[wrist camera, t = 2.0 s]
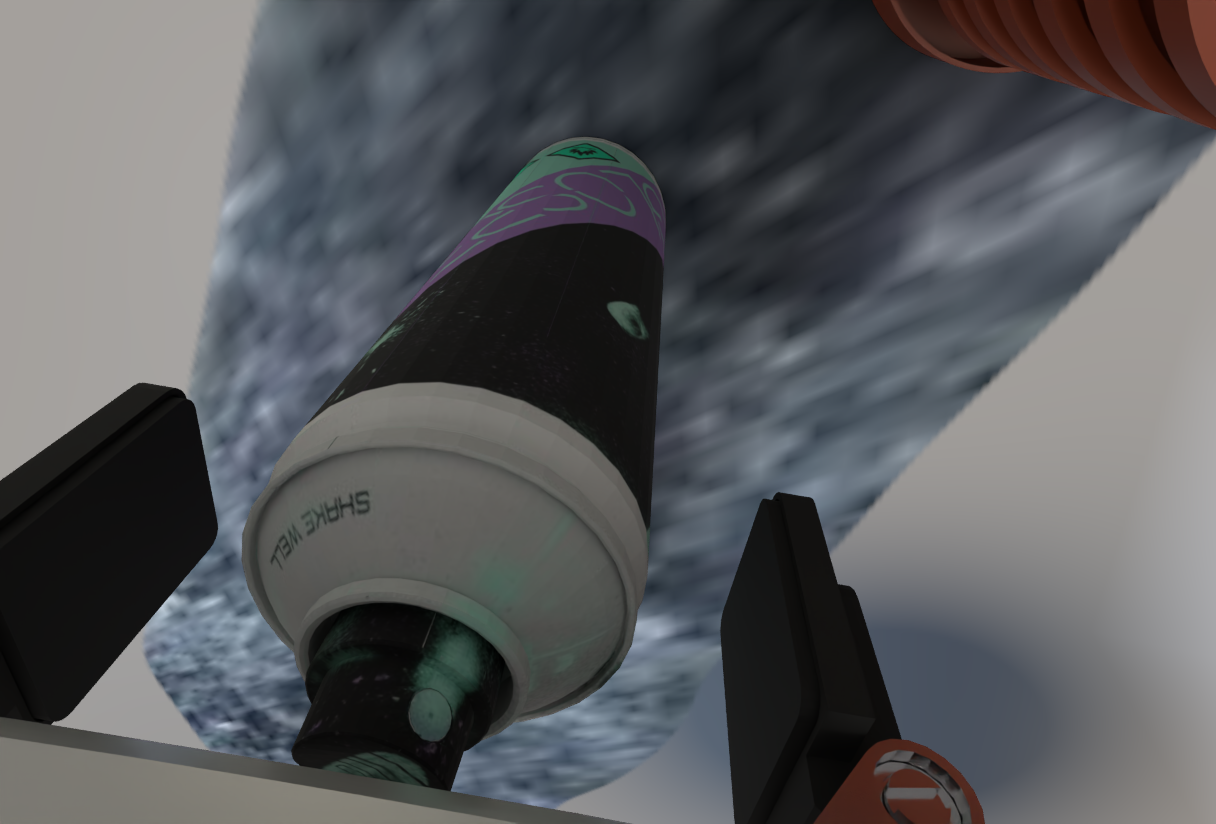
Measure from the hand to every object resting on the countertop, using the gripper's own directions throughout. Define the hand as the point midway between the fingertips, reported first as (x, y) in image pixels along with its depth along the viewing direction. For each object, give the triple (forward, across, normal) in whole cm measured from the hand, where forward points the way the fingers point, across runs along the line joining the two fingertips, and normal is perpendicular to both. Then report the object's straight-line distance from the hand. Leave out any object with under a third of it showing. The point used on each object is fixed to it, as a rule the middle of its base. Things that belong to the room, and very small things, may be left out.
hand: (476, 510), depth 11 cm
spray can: (+15, 0, -1) cm, 15 cm away
